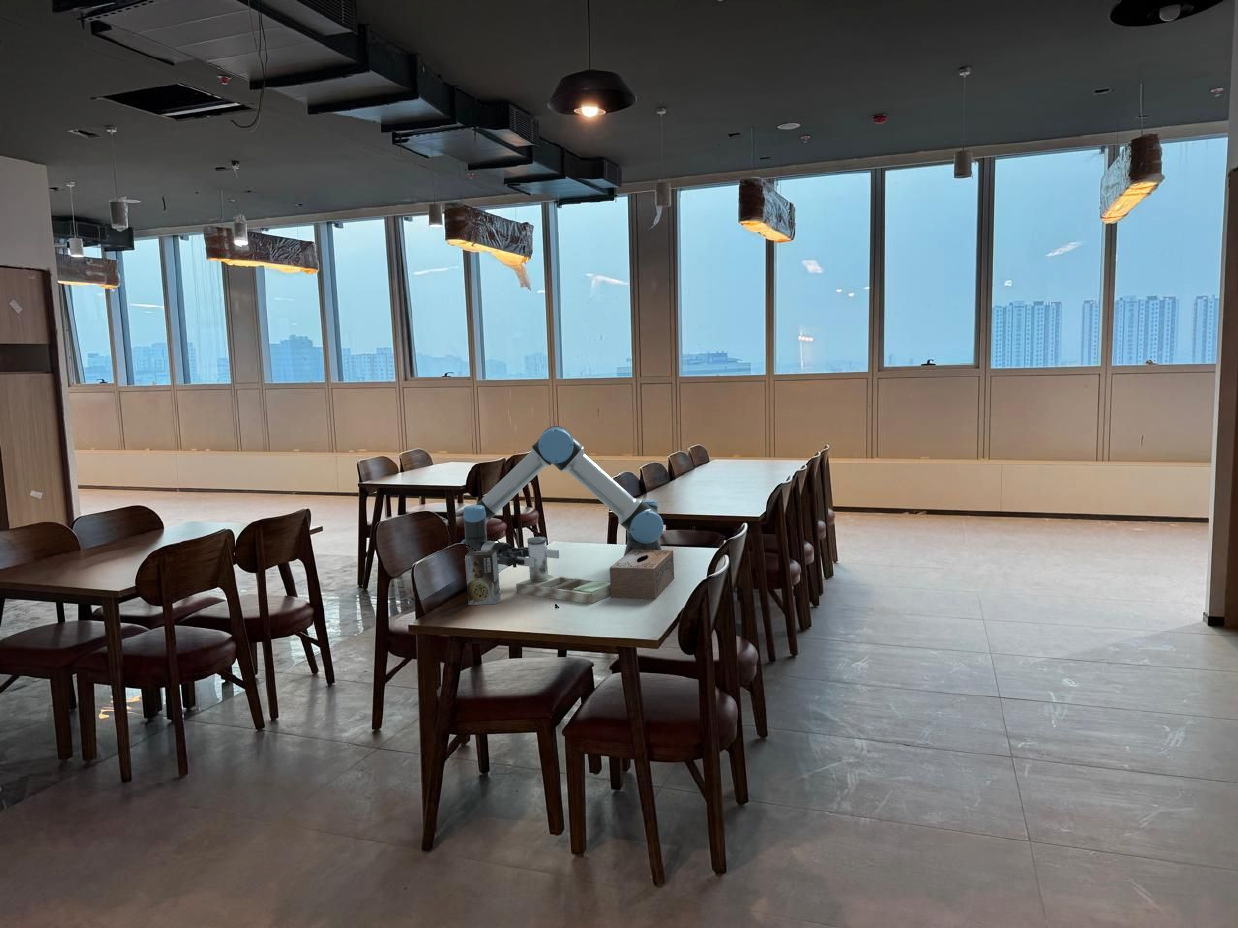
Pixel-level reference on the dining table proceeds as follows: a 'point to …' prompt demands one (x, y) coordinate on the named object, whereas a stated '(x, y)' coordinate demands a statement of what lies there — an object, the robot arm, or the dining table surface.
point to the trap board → (566, 589)
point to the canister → (538, 559)
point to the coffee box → (482, 577)
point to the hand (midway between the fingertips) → (546, 558)
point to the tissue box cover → (642, 574)
